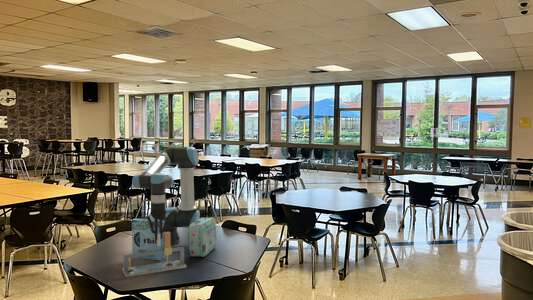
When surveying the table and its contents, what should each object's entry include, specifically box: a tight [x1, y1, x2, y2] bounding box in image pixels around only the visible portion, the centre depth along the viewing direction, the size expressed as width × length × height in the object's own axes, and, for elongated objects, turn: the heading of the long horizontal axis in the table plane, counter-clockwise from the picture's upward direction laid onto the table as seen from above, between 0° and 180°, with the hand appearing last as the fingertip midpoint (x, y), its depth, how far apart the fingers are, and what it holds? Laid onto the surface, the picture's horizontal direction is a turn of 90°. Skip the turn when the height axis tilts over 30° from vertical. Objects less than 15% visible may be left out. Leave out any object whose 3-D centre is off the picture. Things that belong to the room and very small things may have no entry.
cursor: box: [163, 232, 173, 265], centre depth 221 cm, size 4×4×18 cm
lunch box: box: [187, 217, 217, 258], centre depth 248 cm, size 27×10×21 cm, turn 168°
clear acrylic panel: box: [122, 246, 185, 272], centre depth 218 cm, size 2×32×9 cm, turn 118°
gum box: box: [131, 217, 166, 261], centre depth 237 cm, size 20×5×23 cm, turn 72°
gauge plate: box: [121, 259, 188, 278], centre depth 218 cm, size 11×32×2 cm, turn 118°
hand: (158, 245), depth 219 cm, fingers closed
